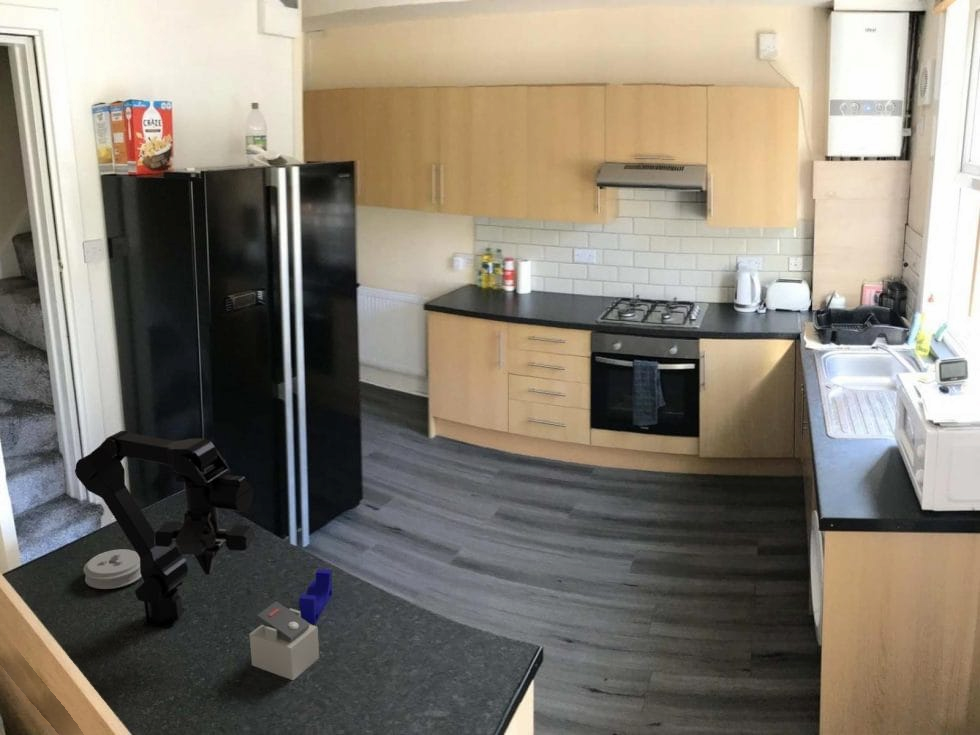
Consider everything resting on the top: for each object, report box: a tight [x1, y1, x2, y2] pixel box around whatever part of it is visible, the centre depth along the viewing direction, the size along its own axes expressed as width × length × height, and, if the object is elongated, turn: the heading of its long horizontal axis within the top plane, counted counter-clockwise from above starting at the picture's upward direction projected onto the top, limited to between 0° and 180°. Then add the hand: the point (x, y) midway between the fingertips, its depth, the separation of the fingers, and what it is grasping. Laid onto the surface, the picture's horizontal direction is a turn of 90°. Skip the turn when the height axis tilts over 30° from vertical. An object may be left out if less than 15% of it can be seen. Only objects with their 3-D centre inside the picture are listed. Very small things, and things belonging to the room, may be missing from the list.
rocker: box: [255, 601, 311, 643], centre depth 178 cm, size 8×6×1 cm, turn 64°
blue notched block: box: [299, 568, 333, 625], centre depth 199 cm, size 12×4×6 cm, turn 172°
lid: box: [83, 548, 142, 590], centre depth 210 cm, size 13×13×5 cm
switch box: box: [248, 608, 320, 681], centre depth 180 cm, size 10×8×9 cm
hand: (208, 573), depth 187 cm, fingers closed
